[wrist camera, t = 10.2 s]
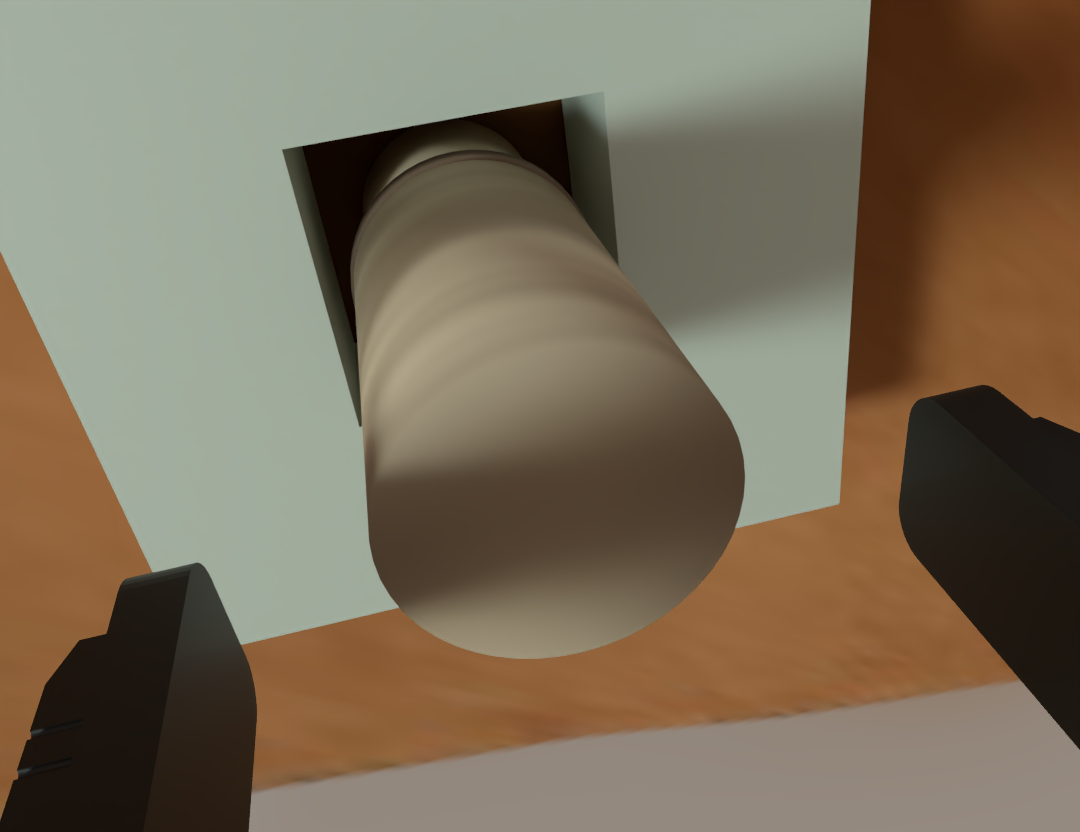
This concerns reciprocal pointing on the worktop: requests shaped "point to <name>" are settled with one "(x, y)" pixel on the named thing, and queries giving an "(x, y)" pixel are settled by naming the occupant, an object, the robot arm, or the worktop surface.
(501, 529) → the peg
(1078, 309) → the worktop surface
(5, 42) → the board
